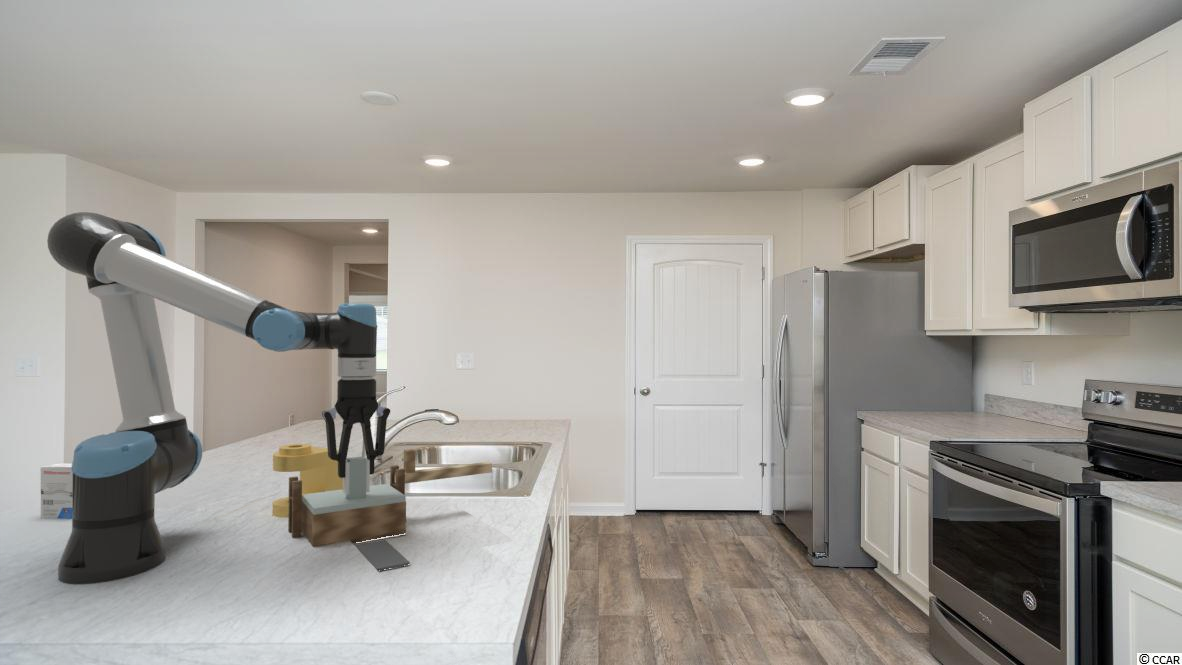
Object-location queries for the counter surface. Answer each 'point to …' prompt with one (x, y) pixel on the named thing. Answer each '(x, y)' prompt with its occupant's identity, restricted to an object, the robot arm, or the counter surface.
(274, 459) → the yellow clevis bracket
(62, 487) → the ink box
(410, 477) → the key
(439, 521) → the counter surface
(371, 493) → the lid
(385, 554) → the mat
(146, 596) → the counter surface
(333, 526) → the wooden rack
